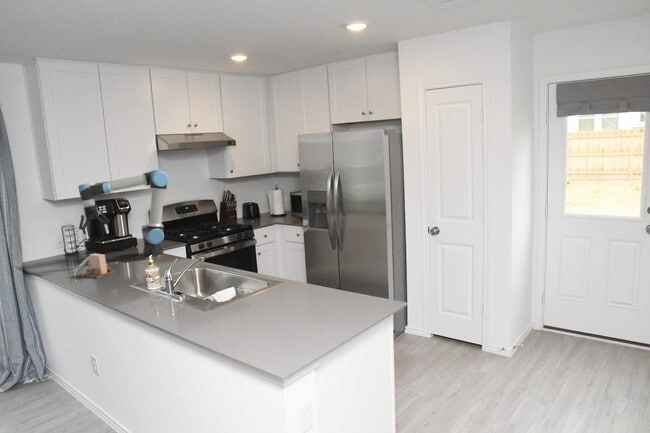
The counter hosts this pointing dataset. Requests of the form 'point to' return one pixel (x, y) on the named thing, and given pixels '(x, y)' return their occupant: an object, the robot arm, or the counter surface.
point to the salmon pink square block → (98, 262)
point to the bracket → (83, 264)
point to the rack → (98, 273)
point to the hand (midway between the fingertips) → (97, 235)
